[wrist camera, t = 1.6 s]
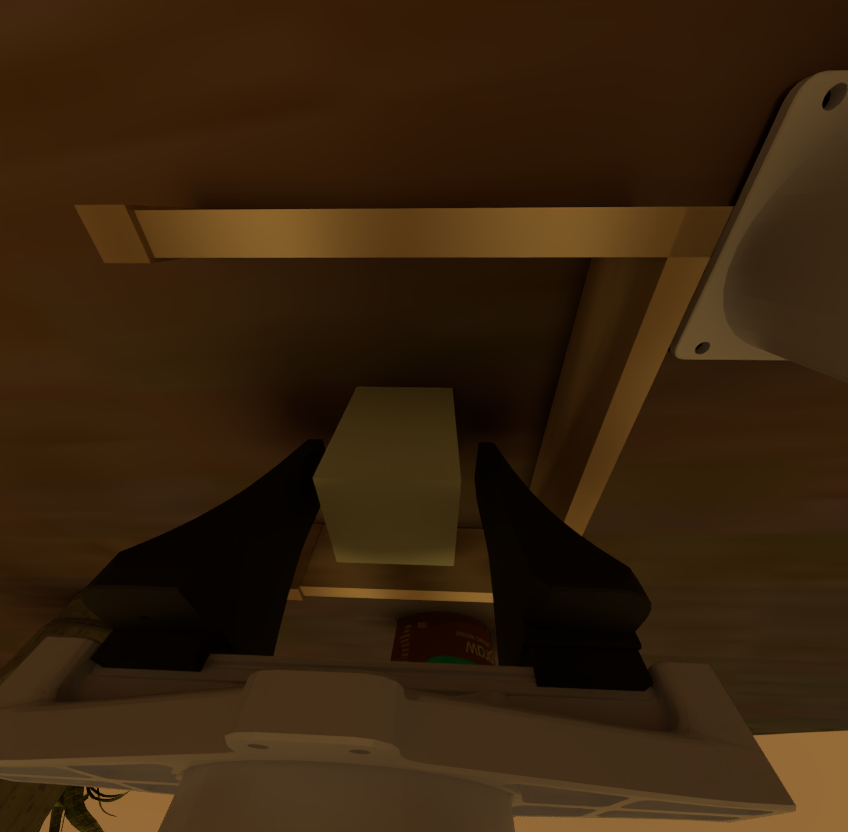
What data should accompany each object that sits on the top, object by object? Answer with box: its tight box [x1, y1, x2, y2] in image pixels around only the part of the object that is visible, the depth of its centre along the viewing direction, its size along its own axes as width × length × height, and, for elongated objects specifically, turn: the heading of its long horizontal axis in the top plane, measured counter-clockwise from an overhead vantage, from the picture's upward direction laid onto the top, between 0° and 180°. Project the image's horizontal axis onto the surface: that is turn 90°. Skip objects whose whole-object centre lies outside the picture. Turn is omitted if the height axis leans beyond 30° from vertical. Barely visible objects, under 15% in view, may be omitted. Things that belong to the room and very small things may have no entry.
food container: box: [391, 612, 515, 817], centre depth 23 cm, size 12×6×10 cm, turn 54°
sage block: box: [313, 387, 461, 566], centre depth 13 cm, size 4×4×6 cm
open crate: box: [74, 205, 734, 602], centre depth 13 cm, size 15×18×4 cm
